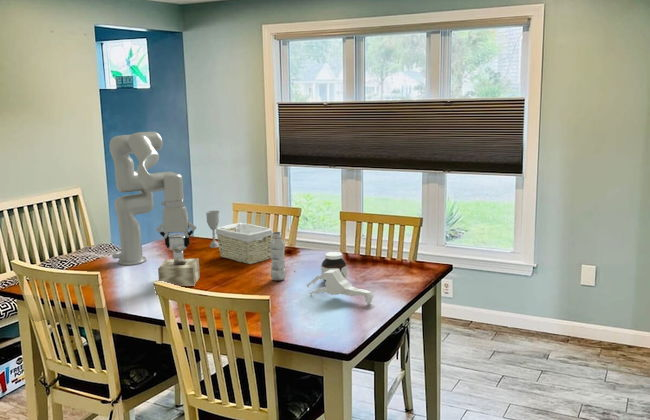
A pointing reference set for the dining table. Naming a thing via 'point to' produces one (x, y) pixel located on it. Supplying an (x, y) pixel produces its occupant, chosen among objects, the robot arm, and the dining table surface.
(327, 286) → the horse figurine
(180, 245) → the silver metal cylinder
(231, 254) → the storage basket
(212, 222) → the chalice
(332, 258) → the spread jar
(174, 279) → the block
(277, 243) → the plastic bottle
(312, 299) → the dining table surface
